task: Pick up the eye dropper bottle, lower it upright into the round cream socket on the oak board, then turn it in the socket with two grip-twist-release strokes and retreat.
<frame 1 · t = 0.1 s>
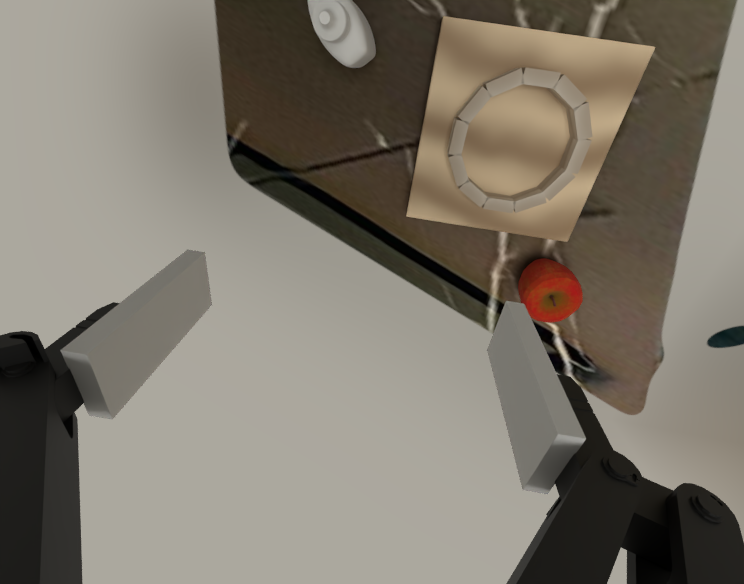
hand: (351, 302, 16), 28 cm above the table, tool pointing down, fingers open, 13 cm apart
eye dropper bottle: (352, 33, 34), on the table
socket stand: (508, 140, 37), on the table
apple: (536, 270, 45), on the table
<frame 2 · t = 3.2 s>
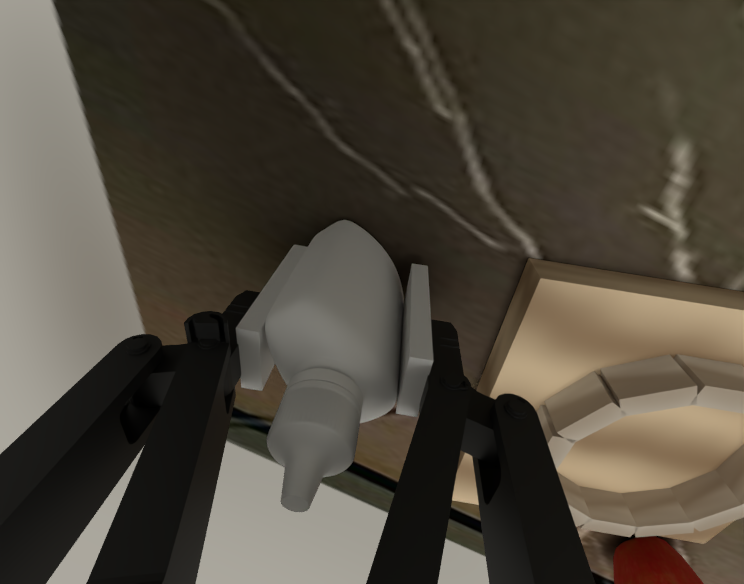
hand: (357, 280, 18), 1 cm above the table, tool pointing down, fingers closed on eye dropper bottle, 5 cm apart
eye dropper bottle: (361, 266, 19), on the table, touching gripper
socket stand: (623, 412, 22), on the table
apple: (635, 539, 30), on the table
when the fingers open (5 cm above the table, at t = 9.1 s): eye dropper bottle drops 1 cm, resting on socket stand.
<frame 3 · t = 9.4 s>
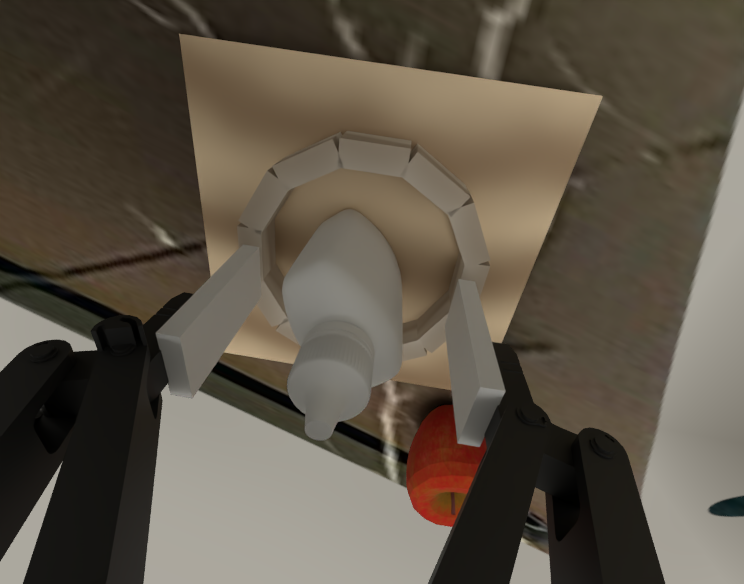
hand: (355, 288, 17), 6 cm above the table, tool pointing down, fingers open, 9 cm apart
eye dropper bottle: (362, 256, 20), point 2 cm above the table, touching socket stand
socket stand: (368, 241, 22), on the table
apple: (446, 414, 29), on the table
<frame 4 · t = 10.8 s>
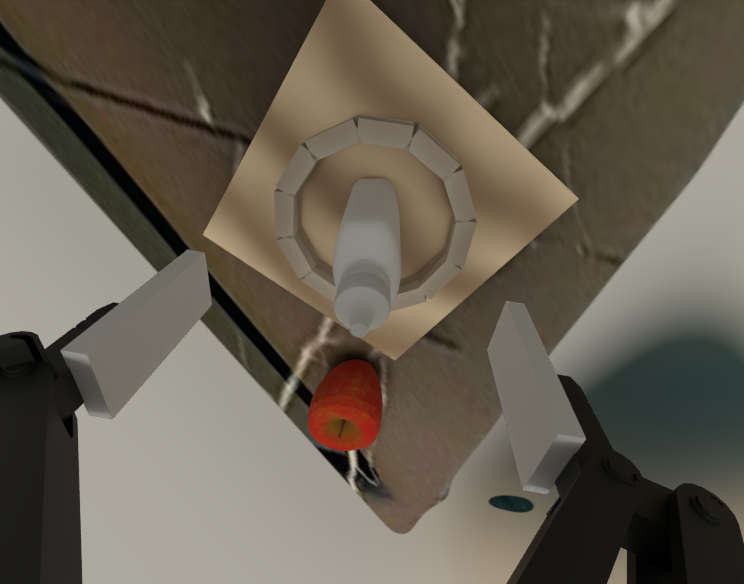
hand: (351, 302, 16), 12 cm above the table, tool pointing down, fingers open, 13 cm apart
eye dropper bottle: (373, 217, 24), point 2 cm above the table, touching socket stand
socket stand: (377, 208, 26), on the table
apple: (355, 368, 35), on the table
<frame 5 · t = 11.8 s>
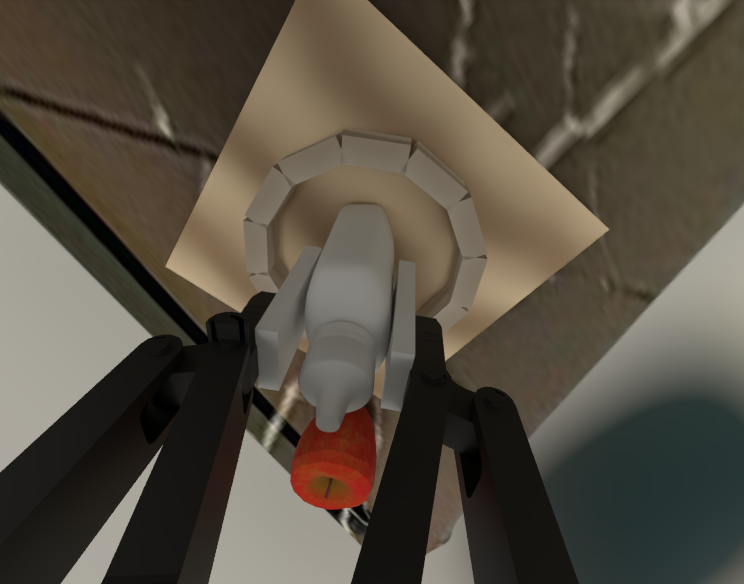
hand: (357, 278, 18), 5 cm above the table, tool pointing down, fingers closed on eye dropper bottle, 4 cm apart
eye dropper bottle: (364, 248, 21), point 2 cm above the table, touching gripper, socket stand
socket stand: (369, 236, 22), on the table
apple: (346, 407, 31), on the table
when the fingers open (5 cm above the table, at t = 12.8 s): eye dropper bottle stays where it is, resting on socket stand.
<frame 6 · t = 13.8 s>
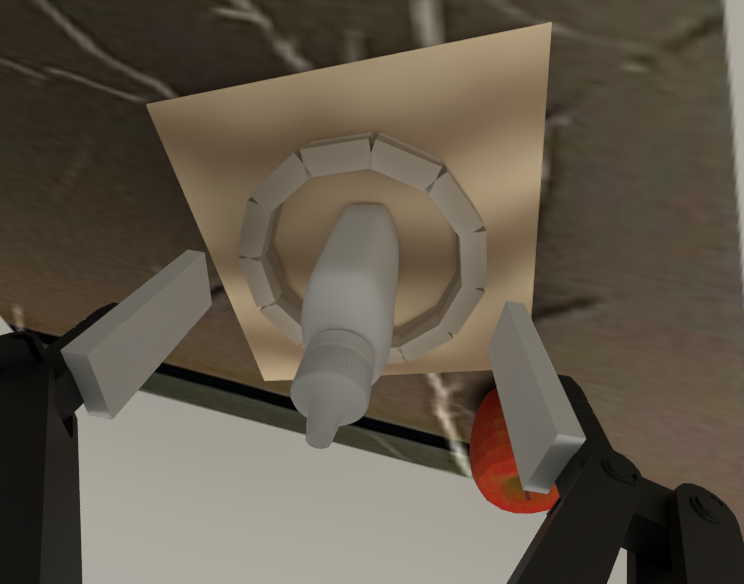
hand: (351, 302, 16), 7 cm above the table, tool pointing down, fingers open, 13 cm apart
eye dropper bottle: (368, 249, 20), point 2 cm above the table, touching socket stand
socket stand: (368, 241, 22), on the table
apple: (502, 397, 28), on the table
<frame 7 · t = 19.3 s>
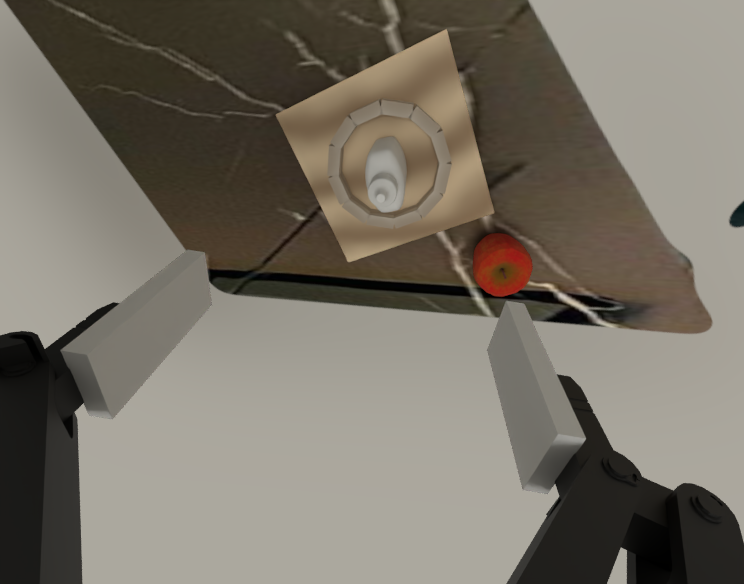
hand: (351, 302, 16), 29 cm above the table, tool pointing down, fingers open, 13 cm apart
eye dropper bottle: (390, 163, 39), point 2 cm above the table, touching socket stand
socket stand: (390, 161, 40), on the table
apple: (492, 246, 45), on the table
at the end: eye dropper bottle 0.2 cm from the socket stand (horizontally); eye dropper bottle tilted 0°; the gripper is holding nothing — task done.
